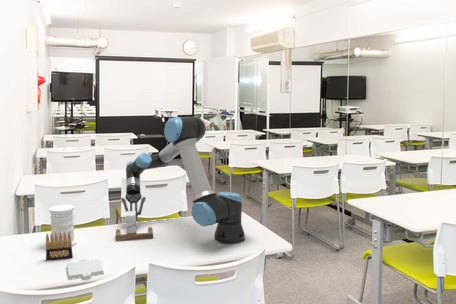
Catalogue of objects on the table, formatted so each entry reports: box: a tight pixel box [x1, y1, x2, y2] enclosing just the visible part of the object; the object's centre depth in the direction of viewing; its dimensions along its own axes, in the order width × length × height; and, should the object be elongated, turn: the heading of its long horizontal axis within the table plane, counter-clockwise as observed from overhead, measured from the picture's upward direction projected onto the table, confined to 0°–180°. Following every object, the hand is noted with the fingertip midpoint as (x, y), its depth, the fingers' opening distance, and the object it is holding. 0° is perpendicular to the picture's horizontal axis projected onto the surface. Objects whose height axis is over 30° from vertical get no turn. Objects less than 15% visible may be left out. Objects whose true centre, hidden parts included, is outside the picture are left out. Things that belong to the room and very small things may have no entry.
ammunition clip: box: [45, 232, 74, 262], centre depth 187 cm, size 11×2×12 cm, turn 106°
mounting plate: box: [66, 258, 104, 281], centre depth 175 cm, size 18×13×2 cm
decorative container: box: [48, 204, 77, 247], centre depth 203 cm, size 12×12×18 cm
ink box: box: [125, 210, 138, 234], centre depth 216 cm, size 9×5×12 cm, turn 10°
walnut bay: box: [114, 226, 154, 242], centre depth 216 cm, size 11×18×2 cm, turn 103°
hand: (134, 226), depth 222 cm, fingers closed
